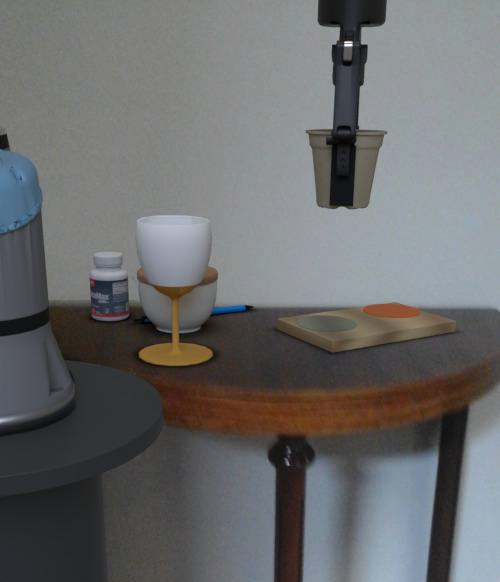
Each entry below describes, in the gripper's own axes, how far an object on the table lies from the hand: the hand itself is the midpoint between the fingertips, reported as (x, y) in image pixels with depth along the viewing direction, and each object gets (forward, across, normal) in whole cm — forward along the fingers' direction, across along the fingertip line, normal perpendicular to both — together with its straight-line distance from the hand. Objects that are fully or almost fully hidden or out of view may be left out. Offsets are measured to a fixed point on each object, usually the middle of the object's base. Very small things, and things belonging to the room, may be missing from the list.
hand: (342, 200), depth 100 cm
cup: (+18, -9, +19) cm, 28 cm away
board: (+18, +8, -4) cm, 20 cm away
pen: (+18, +11, +21) cm, 29 cm away
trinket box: (+18, +4, +22) cm, 28 cm away
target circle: (+17, +14, -7) cm, 23 cm away
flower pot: (+1, 0, 0) cm, 1 cm away
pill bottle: (+18, +8, +32) cm, 38 cm away
